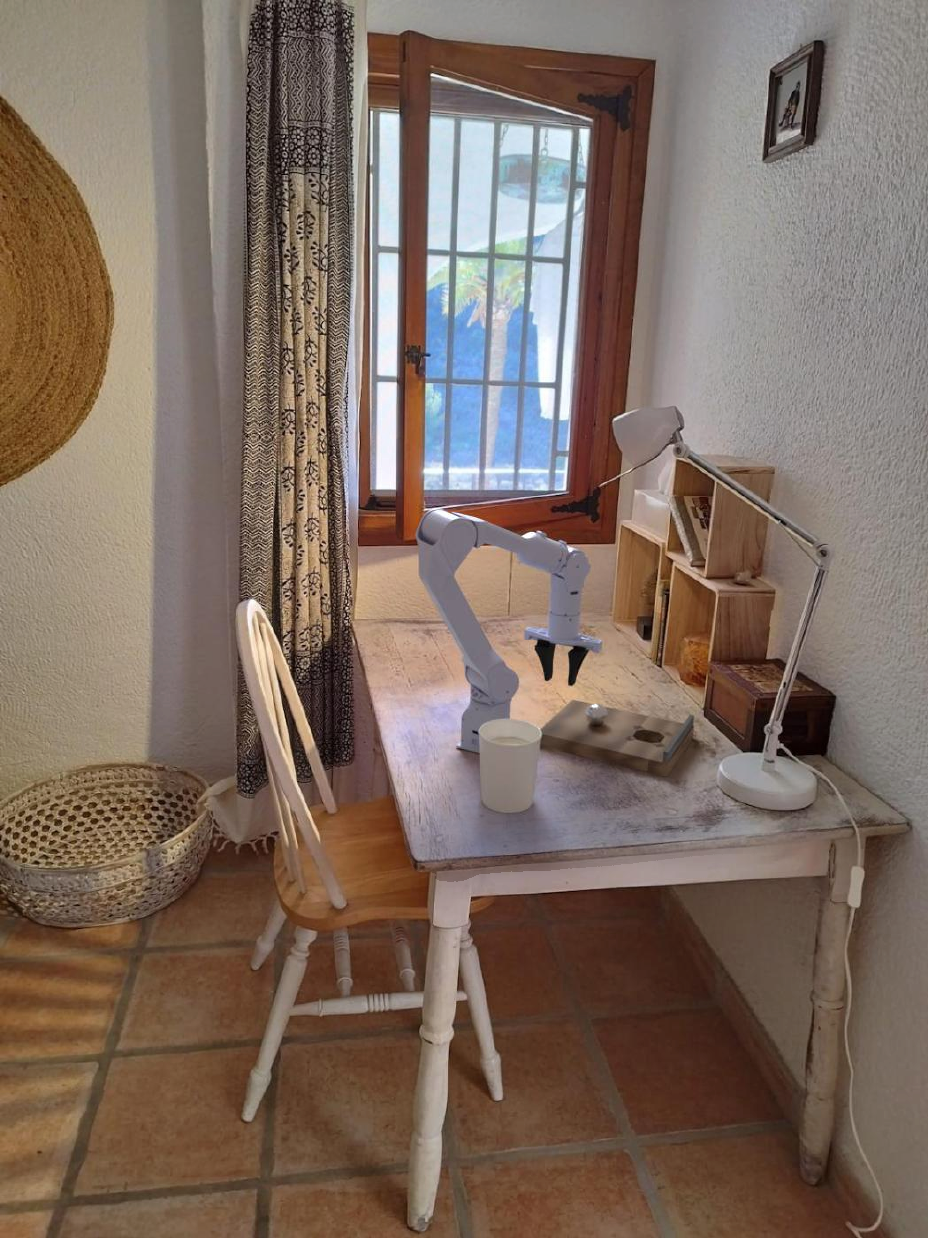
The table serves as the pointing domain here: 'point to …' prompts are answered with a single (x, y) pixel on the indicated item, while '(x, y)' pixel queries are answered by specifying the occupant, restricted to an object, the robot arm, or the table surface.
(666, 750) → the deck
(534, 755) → the candle holder
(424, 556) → the robot arm
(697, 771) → the table surface
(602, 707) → the ball
